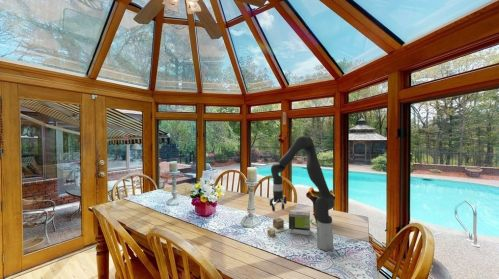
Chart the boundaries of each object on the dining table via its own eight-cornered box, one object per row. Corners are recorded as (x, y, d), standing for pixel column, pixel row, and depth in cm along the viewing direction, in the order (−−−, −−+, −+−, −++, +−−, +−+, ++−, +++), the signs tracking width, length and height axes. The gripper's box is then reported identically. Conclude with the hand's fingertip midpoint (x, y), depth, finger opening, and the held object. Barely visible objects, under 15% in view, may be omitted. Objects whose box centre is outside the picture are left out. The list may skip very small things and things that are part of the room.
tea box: (310, 230, 173) (310, 210, 173) (309, 235, 164) (309, 215, 163) (290, 227, 178) (290, 209, 177) (288, 233, 168) (288, 213, 167)
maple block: (275, 235, 166) (275, 229, 166) (271, 236, 163) (271, 231, 163) (270, 233, 169) (270, 228, 169) (267, 235, 166) (267, 229, 166)
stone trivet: (289, 229, 175) (289, 228, 175) (276, 232, 169) (276, 231, 169) (280, 223, 185) (280, 222, 185) (267, 226, 180) (267, 225, 180)
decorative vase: (339, 228, 175) (337, 192, 174) (308, 227, 180) (306, 192, 179) (334, 217, 195) (332, 185, 195) (306, 217, 200) (305, 186, 199)
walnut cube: (283, 227, 176) (283, 220, 176) (277, 229, 173) (277, 221, 173) (279, 225, 181) (279, 217, 181) (273, 226, 178) (272, 219, 178)
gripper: (272, 191, 169) (273, 213, 170) (288, 189, 176) (288, 210, 176) (267, 189, 176) (267, 210, 176) (282, 187, 183) (283, 207, 183)
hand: (278, 210), depth 176 cm, fingers open, 8 cm apart
